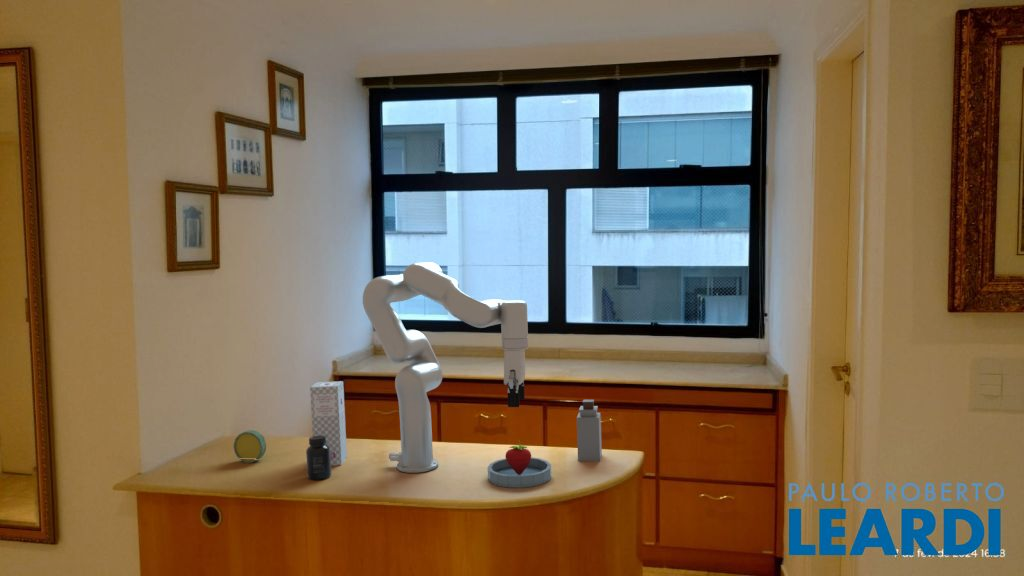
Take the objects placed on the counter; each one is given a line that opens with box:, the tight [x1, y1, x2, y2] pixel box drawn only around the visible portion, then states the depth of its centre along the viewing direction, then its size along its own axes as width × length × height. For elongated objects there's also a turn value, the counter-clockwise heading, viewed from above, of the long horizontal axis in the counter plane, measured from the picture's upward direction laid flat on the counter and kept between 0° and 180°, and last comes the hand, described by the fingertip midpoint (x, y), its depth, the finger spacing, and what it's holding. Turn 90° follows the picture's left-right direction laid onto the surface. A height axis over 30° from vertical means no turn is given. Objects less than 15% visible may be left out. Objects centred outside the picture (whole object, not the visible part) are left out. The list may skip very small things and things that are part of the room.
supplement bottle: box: [305, 435, 332, 481], centre depth 212 cm, size 7×7×12 cm
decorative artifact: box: [233, 429, 267, 464], centre depth 233 cm, size 10×7×10 cm
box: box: [309, 380, 348, 467], centre depth 227 cm, size 8×8×25 cm
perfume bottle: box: [576, 399, 603, 462], centre depth 221 cm, size 7×7×18 cm
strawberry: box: [505, 440, 532, 475], centre depth 205 cm, size 6×8×10 cm
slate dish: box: [487, 456, 552, 489], centre depth 205 cm, size 18×18×3 cm
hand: (516, 403), depth 204 cm, fingers open, 9 cm apart
